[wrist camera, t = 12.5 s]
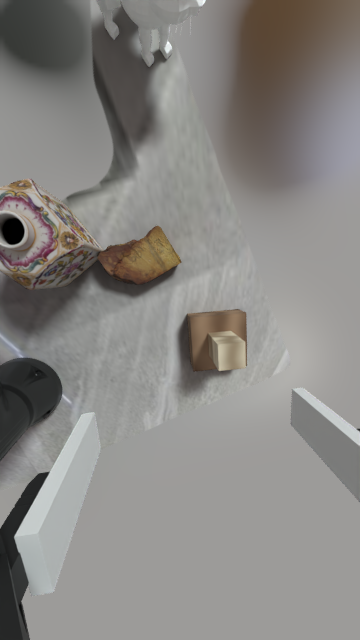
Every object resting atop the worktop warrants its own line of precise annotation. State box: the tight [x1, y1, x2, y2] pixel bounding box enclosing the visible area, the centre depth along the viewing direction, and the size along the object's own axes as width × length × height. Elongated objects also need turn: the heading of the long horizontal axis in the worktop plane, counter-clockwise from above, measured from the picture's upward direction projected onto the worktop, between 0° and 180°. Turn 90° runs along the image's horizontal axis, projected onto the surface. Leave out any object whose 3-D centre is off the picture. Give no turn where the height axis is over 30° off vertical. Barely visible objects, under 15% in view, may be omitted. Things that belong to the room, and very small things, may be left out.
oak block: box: [208, 331, 246, 371], centre depth 43 cm, size 5×5×8 cm
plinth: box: [187, 309, 247, 371], centre depth 49 cm, size 12×12×5 cm
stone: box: [97, 226, 181, 285], centre depth 45 cm, size 15×9×5 cm, turn 112°
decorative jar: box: [0, 179, 104, 290], centre depth 36 cm, size 12×12×18 cm
